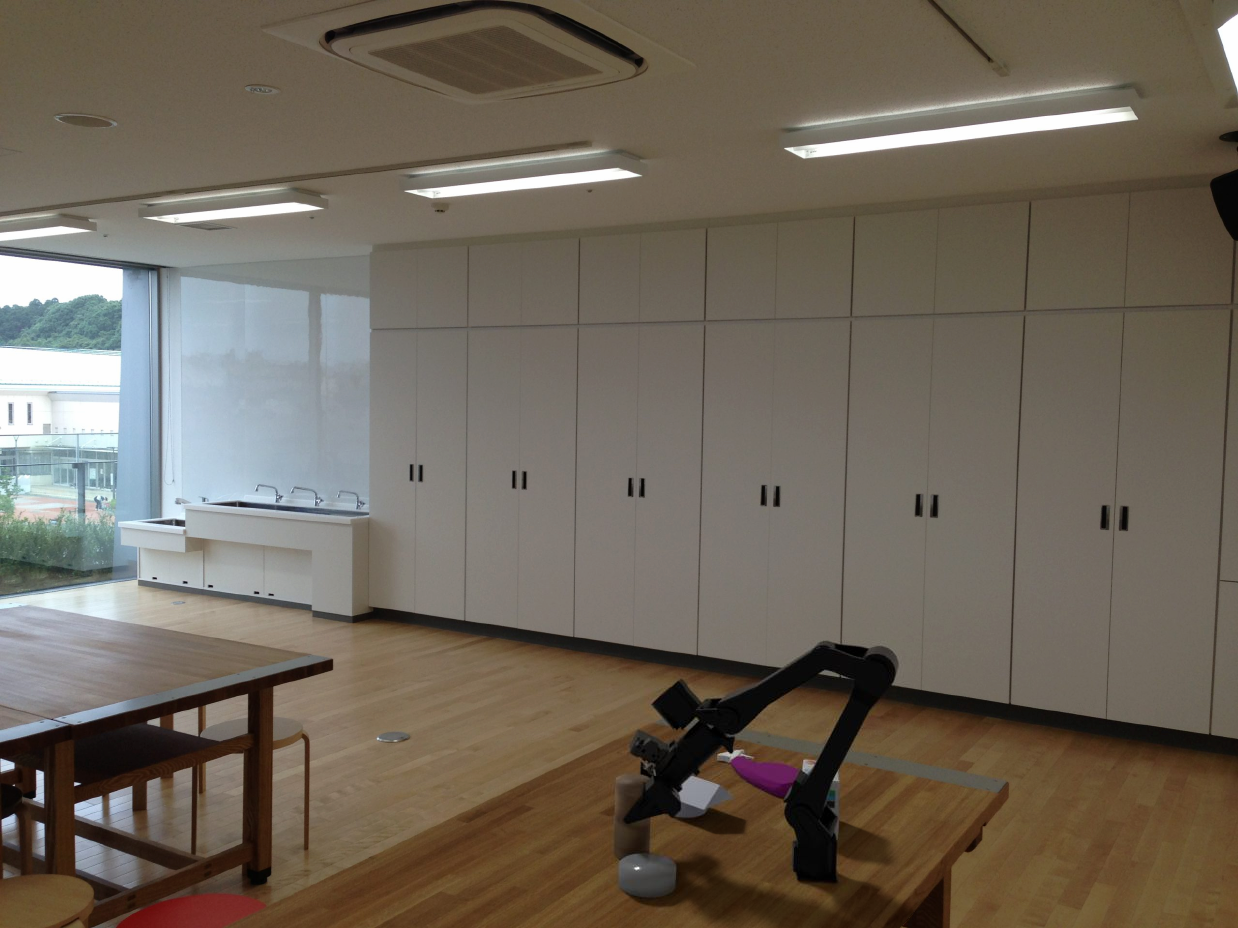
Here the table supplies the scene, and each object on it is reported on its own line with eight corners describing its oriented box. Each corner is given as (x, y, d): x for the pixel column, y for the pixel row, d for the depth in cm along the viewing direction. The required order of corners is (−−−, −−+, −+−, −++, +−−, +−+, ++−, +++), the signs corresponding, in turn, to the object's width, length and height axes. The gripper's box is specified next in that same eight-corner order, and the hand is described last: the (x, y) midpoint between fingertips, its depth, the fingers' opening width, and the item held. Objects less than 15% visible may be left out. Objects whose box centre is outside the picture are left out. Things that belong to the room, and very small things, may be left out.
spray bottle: (776, 800, 199) (705, 763, 220) (820, 791, 204) (746, 756, 226) (777, 785, 199) (705, 750, 220) (821, 777, 204) (747, 743, 225)
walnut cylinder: (650, 846, 175) (652, 774, 175) (648, 861, 169) (650, 787, 169) (615, 844, 176) (616, 772, 175) (612, 859, 170) (614, 785, 169)
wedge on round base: (733, 814, 190) (679, 795, 199) (734, 779, 190) (680, 761, 199) (703, 827, 184) (648, 807, 193) (704, 791, 184) (650, 772, 192)
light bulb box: (838, 842, 179) (840, 781, 179) (799, 838, 181) (801, 777, 180) (837, 818, 190) (840, 761, 189) (800, 815, 191) (802, 758, 190)
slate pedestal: (675, 872, 165) (676, 854, 165) (675, 898, 156) (675, 879, 156) (620, 869, 166) (620, 851, 166) (616, 895, 157) (616, 876, 157)
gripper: (655, 700, 181) (591, 761, 181) (662, 733, 162) (590, 801, 162) (699, 745, 181) (634, 806, 181) (710, 783, 163) (639, 851, 163)
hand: (624, 814), depth 172 cm, fingers closed on walnut cylinder, 6 cm apart
